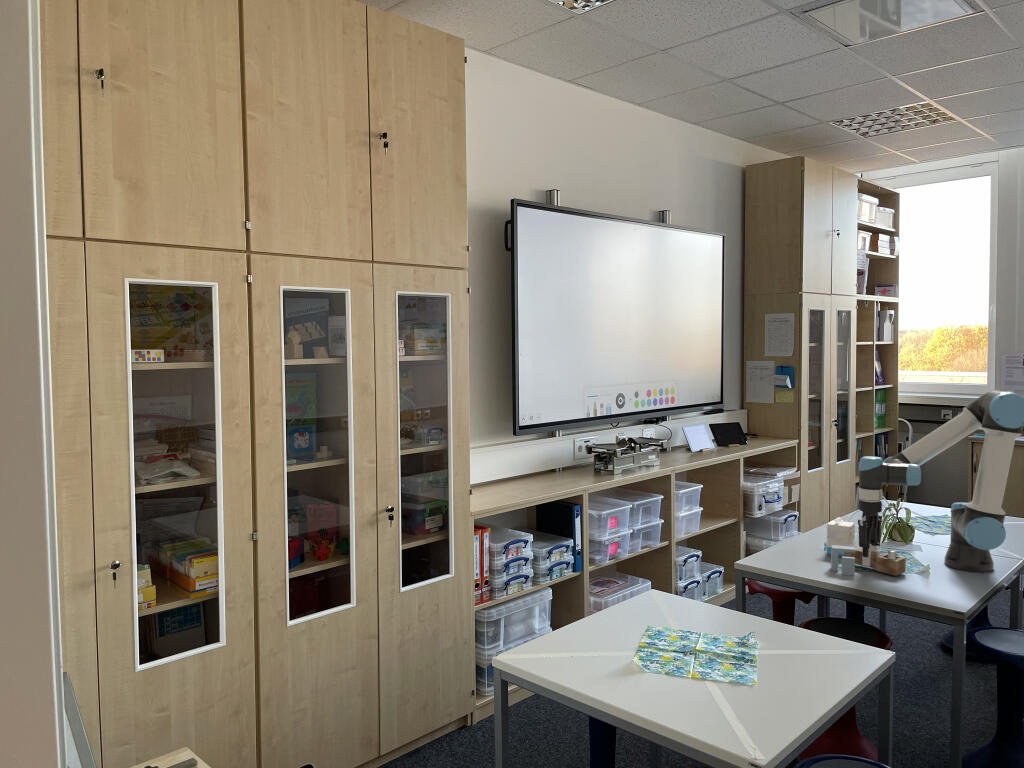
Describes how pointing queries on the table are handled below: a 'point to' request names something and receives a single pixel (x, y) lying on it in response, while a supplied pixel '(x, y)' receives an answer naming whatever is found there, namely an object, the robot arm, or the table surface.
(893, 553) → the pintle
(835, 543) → the ink box
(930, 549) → the table surface
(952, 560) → the robot arm
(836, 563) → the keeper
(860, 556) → the link
